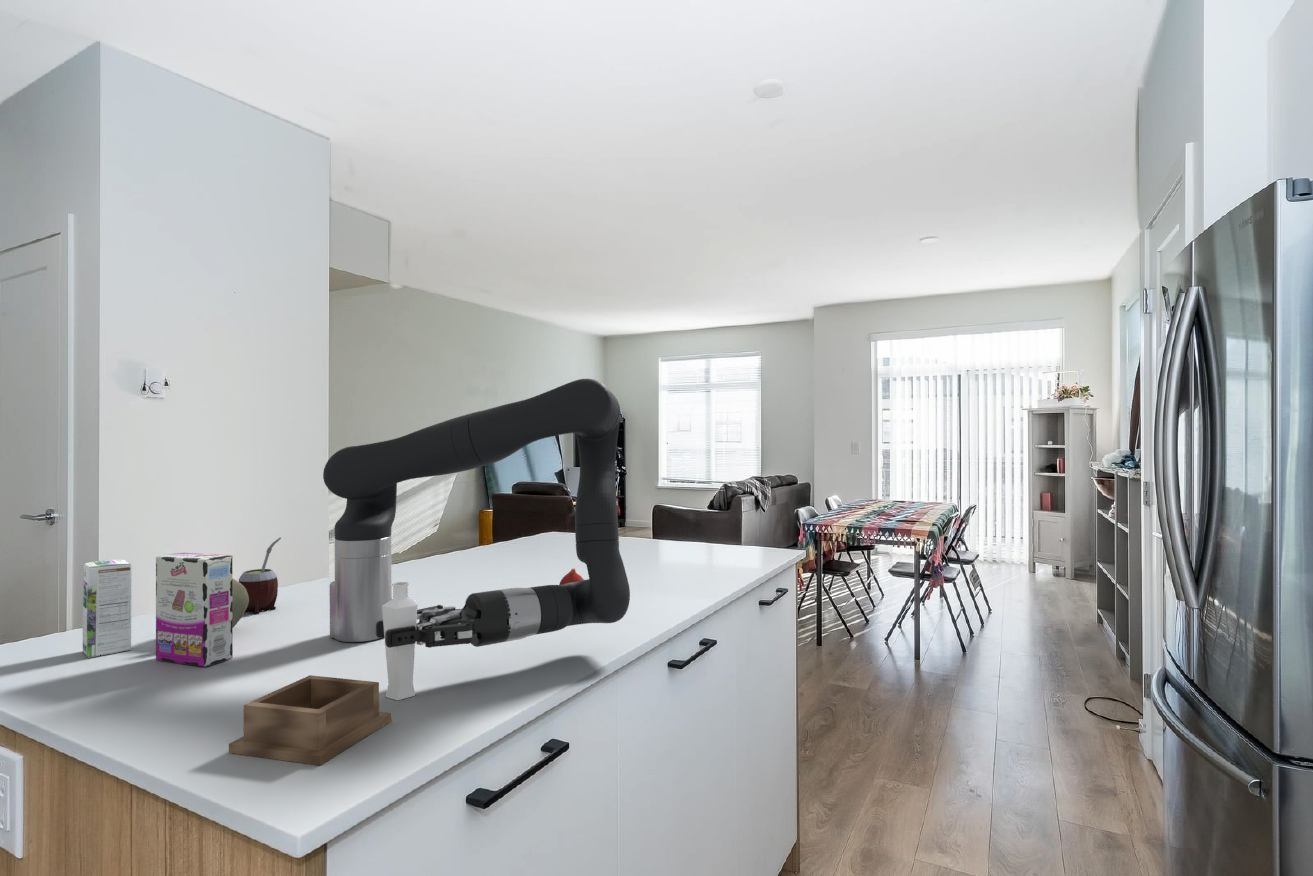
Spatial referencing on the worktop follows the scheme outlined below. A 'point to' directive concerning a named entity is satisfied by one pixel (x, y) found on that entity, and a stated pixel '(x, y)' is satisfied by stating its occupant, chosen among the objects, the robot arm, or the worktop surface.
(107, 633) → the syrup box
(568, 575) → the onion
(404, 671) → the perfume bottle
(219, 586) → the candy bar box
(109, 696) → the worktop surface
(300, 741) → the holder
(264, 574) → the mate gourd
